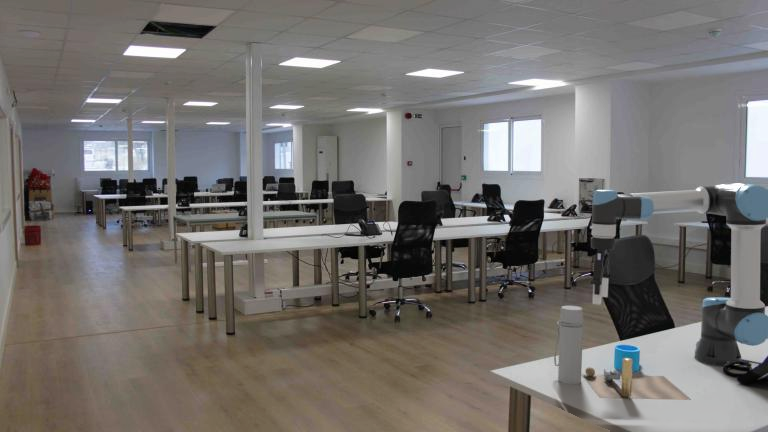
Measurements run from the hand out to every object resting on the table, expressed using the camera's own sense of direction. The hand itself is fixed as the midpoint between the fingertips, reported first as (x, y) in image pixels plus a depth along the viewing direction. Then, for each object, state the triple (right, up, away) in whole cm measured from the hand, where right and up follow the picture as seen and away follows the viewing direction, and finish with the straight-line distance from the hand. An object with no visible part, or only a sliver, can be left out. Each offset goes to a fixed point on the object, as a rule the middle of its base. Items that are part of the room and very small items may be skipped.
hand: (600, 300), depth 212 cm
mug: (+13, -26, +9) cm, 30 cm away
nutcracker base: (+7, -27, -10) cm, 30 cm away
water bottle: (-12, -26, -5) cm, 30 cm away
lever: (+1, -25, -12) cm, 28 cm away
